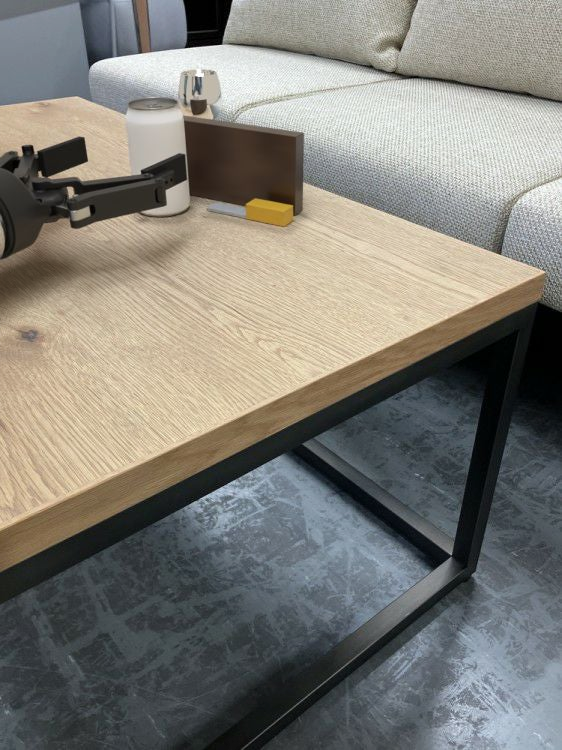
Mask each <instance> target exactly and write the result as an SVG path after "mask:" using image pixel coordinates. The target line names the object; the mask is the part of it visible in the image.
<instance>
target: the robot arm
mask: <svg viewBox="0 0 562 750" xmlns="http://www.w3.org/2000/svg"><path fill="white" fill-rule="evenodd" d="M20 148H21V152H22V155H19V153H18V151H15V150H9V151H7V152H5V153H3V155H1V156H0V260H4V259H7V258H9V257H10V256H13V255H15V254H18V253H20V252H21V251H23V250H26V249H28V248H29V247H32V245H34V244H35V242H36V241H37V240H38V238H39V235H40V233H41V231H42V229H43V226H44V225H45V224H51V223H57V222H58V221H59V220H62V219H68V220H69V226H70V228H71V229H73V230H79V229H83V228H85V227H87V226H90V225H92V224H95V223H98V222H102V221H106V220H111V219H115V218H116V219H117V218H121V217H124V216H128V215H132V214H133V215H134V214H137V213H140V212H142V211H147V210H151V209H155V208H160V207H164V206H166V205H167V200H166V190H168V189H170V188H172V187H174V186H176V185H178V184H180V183H182V182H184V181H186V180H187V172H186V158H185V154H181V153H178V154H176V155H174V156H172V157H169V158H167V159H165V160H163V161H160V162H158V163H156V164H154V165H151V166H149V167H147V168H144V169H142V170H141V174H140V175H132V176H131V175H124V176H115V177H107V178H99V179H90V180H81V179H80V178H79V177H77V176H69V177H60V178H50V177H52V176H55V175H58V174H60V173H62V172H65V171H68V170H70V169H73V168H75V167H78V166H80V165H83V164H85V163H88V162H89V158H88V151H87V145H86V138H85V136H80V135H79V136H76V137H74V138H71V139H68V140H64V141H62V142H59V143H56V144H53V145H51V146H48V147H45V148H41V149H39V150H37V151H36V153H35V148H34V145H33V144H23V145H21V147H20ZM39 172H40V173H39ZM40 174H41V176H40ZM68 188H72V190H73V194H72V196H71V197H70V194H69V189H68Z"/></svg>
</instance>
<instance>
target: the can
mask: <svg viewBox="0 0 562 750" xmlns="http://www.w3.org/2000/svg"><path fill="white" fill-rule="evenodd" d="M126 106H127V110H126V114H125V117H124V123H125V132H126V141H127V151H128V158H129V166H130V176H132V175H140V174H141V170H142V169H144V168H147V167H149V166H151V165H154V164H156V163H158V162H160V161H163V160H165V159H167V158H169V157H172V156H174V155H176V154H178V153H181V154H185V158H186V172H187V180H186V181H184V182H182V183H180V184H178V185H176V186H174V187H172V188H170V189H168V190H166V200H167V205H166V206H164V207H160V208H155V209H151V210H147V211H142V212H139V213H140V214H142V215H145V216H148V217H155V218H165V217H166V218H167V217H172V216H176V215H180V214H182V213H184V212H186V211H187V210H188V209H189V207H190V204H191V198H190V196H191V195H189V181H188V168H187V155H186V142H185V129H184V119H183V114H182V112H181V110H180V107H179V100H177V99H176V98H172V97H168V96H167V97H166V96H146V97H140V98H134V99H131V100H129V101H128V102H126Z"/></svg>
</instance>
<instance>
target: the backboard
mask: <svg viewBox="0 0 562 750" xmlns="http://www.w3.org/2000/svg"><path fill="white" fill-rule="evenodd" d="M182 115H183V114H182ZM183 119H184V129H185V142H186V155H187V168H188V181H189V196H192V197H193V196H194V197H200V198H204V199H208V200H215V201H218V202H219V201H220V202H225V203H230V204H233V205H234V204H235V205H240V206H245V207H246V204H247V203H248V202H250V201H252V200H253V199H255V198H256V199H261V200H267V201H272V202H277V203H282V204H288V205H293V216H297V215H298V214H299V213H301V212H303V210H304V208H303V207H304V160H305V159H304V158H305V157H304V156H305V155H304V153H305V132H302V131H294V130H288V129H281V128H274V127H267V126H261V125H253V124H246V123H239V122H233V121H226V120H217V119H215V120H212V119H205V118H198V117H191V116H184V115H183Z"/></svg>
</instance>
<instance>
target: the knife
mask: <svg viewBox="0 0 562 750" xmlns="http://www.w3.org/2000/svg"><path fill="white" fill-rule="evenodd" d="M206 211H207V212H213V213H218V214H222V215H227V216H232V217H236V218H241V219H246V220H250V221H254V222H259V223H265V224H269V225H275V226H279V227H286V226H287V225H289V224H290V223H291V222H293V221H294V215H293V205H288V204H282V203H277V202H272V201H267V200H261V199H256V198H255V199H253V200H252V201H250V202H248V203H247V204H246V206H245V207H242V206H236V205H231V204H225V203H221V202H215V201H214V202H213V203H212V204H210V205H208V206H206Z"/></svg>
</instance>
